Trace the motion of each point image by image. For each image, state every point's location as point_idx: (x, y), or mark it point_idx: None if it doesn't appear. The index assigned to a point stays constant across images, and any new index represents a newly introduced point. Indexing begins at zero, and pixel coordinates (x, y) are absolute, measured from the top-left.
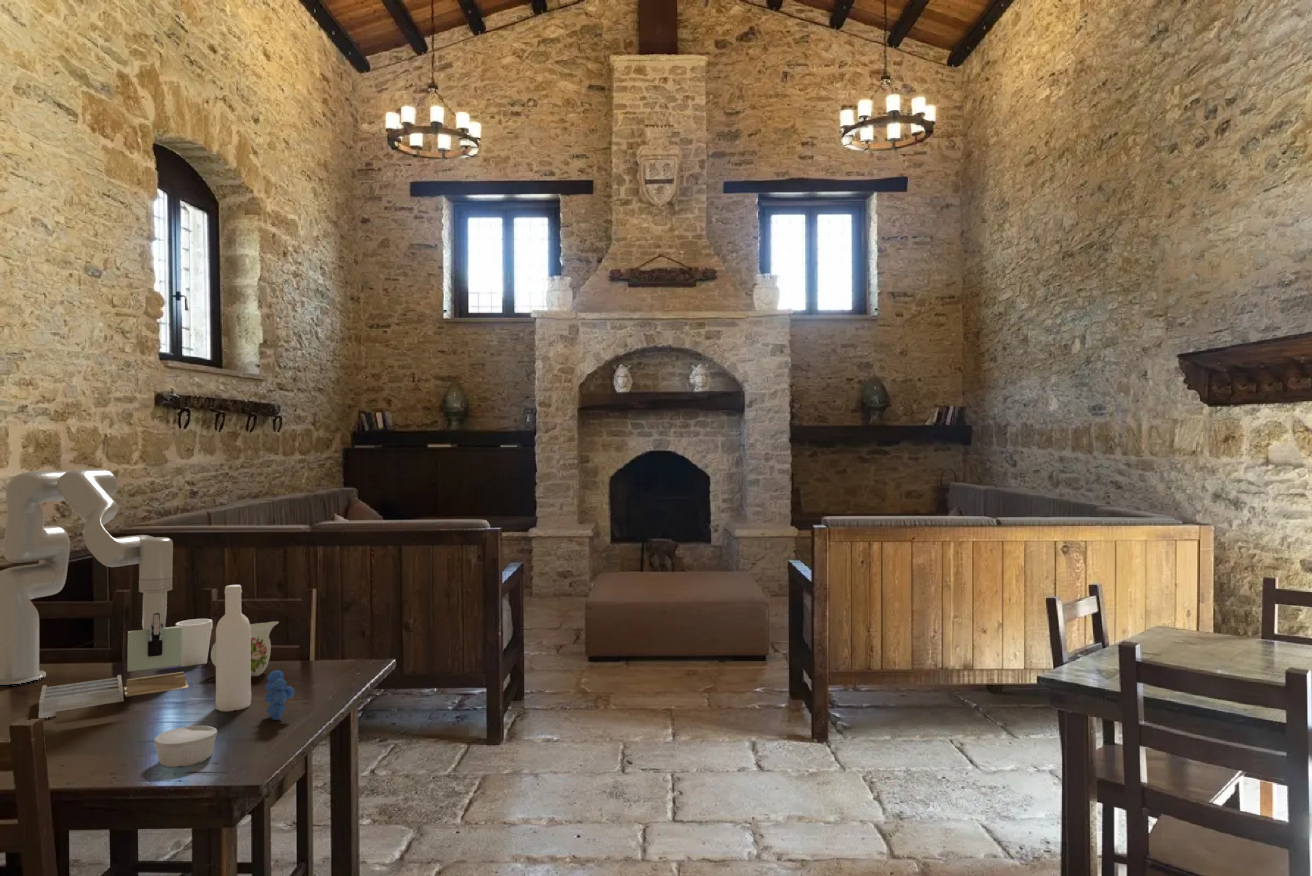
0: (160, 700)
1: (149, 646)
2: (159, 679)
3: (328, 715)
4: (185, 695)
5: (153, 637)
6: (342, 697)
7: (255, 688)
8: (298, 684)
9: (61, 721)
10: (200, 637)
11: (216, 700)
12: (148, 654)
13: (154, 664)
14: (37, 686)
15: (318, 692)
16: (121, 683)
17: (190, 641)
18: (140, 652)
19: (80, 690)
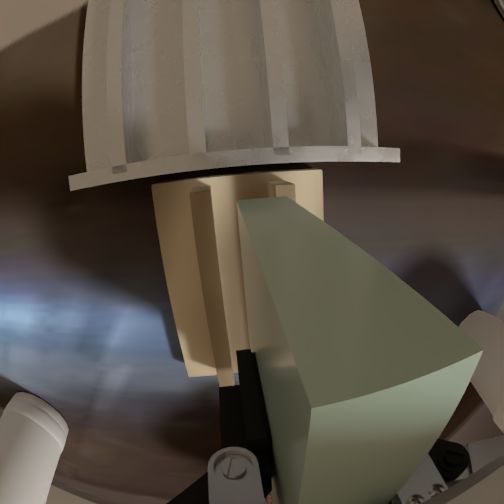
0: (131, 295)
1: (243, 409)
2: (211, 319)
3: None
4: (162, 357)
5: (176, 501)
6: (77, 493)
7: (166, 459)
8: (167, 491)
9: (44, 36)
10: (489, 400)
11: (11, 404)
12: (238, 359)
13: (250, 339)
14: (478, 8)
15: (107, 491)
16: (222, 164)
17: (495, 376)
18: (254, 324)
19: (187, 11)
